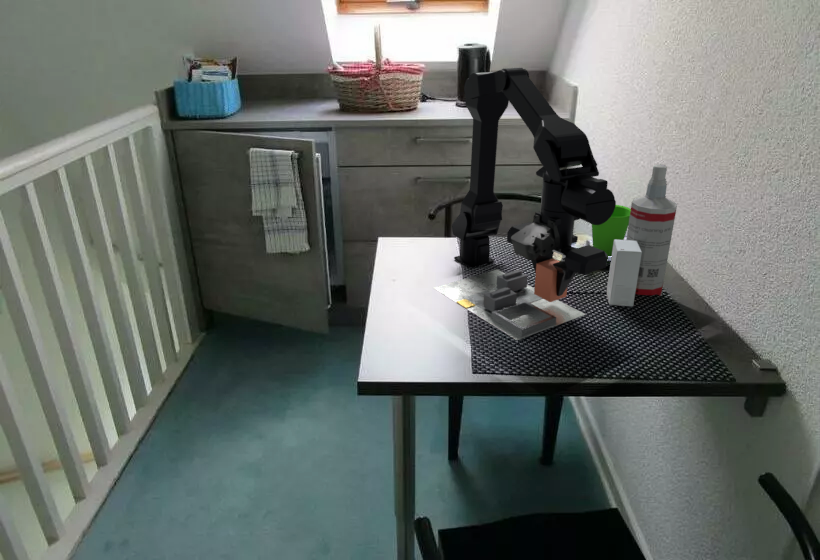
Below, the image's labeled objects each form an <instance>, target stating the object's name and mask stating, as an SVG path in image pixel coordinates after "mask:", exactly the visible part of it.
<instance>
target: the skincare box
mask: <svg viewBox="0 0 820 560" xmlns="http://www.w3.org/2000/svg"><path fill="white" fill-rule="evenodd" d="M641 254H642V252H641V249H640V247H639V245H638V243H637V241H632V240H626V239H624V240H617V239H615V240H614V243H613V250H612V257H611V262H610V264H609V265H610V266H609V273H608V279H607V287H606V297H607V301H608V304H609V305H610V306H622V307H625V306H626V307H634V303H635V296H636V294H635V291H636V285H637V279H638V273H639V266H640V260H641Z"/></svg>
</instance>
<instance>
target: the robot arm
mask: <svg viewBox="0 0 820 560" xmlns="http://www.w3.org/2000/svg"><path fill="white" fill-rule="evenodd" d="M463 88H464V89H463V91H464V96H465V106H466V108H467V110H468V112H469V114H470V115H471V117H472V118H471V119H472V139H471V157H470V158H471V159H470V177H469V178H470V180H469V190H468V192H467V193H466V194H465V197H463V200H462V201H461V202H460V203H461V204H460V211H459V215H458V216H457V217H456V218H455V220H454V221H453V222H452V224H451V231H452V235H454V236H455V237H456V238H458V239H459V255H456V256H454V257H453V258H454V259H453V260H454V261H457V262H459V263H460V264H462V265H464V266H465V267H468V268H470V269H475V268H477V267H482V266H485V265H488V264H492V263H494V262H495V259H494V258H491V257H490V255H491V254H490V251H491V244H490V236H497V234H498V232H499V229H500V225H501V222H502V221H503V216H502V215H503V214H502V213H503V208H504V207H503V206H504V205H503V202H502V201H500V200H499V199H498V197H497V195H496V194H495V180H496V179H495V178H496V165H497V163H496V162H497V149H498V134H499V121H500V119H501V118H502V116H503V114H504V113H505V112H506V110H507V109H508V107H509V103H510V104H511V106H512V108H513V109H514V110H515V111H516V113H517V114H518V116H519V117H520V119H522V121H523V123H524V124H525V126H526V127H527V128H528V130H529V131H530V132H531V134H532V136H533V147H532V148H533V150H534V152H535V154H536V156H537V158H538V160H539V162H540V164H541V165H542V166H541V167H540V168H539V169H538V170H537V171H535V175H536V176H537V177H540V178H542V184H541V185H542V186H541V187H542V189H541V201H540V202H541V203H540V210H539V211H535V212H534V215H533V218H532V219H533V220H532V222H530V221H528V222H525V223H520V224H516V225H512V226H511V227H510V228H509V229H508V231H507V232H506V233H507V234H506V236H507V237H506V242H507V243H510V244H511V245H512V248H513V252H514V254H515V255H517V256H520V257H522V258H524V259H526V260H527V261H531V263H532V266H533V269H534V273H535V274H534V275H536V264H537V263H539V262H543V261H546V260H549V259H553V257H554V253H556V254H558V255H561V256H562V257H561V260H560V262H557V263H554V264H553V266H554V267H555V268H556V269H557V283H556V294H557V296H561V295H562V294H563V293H564V291H565V290H566V288H567V289H568V287H569V285H570V284H571V282H572V280H573V279H574V277H575V276H576V275H577V274H579V275H588V274H589V273H593V272H595V271H598V270H602V269H606V268H607V266H608V265H607V264H608V262H607V259H608V256H607V254H606V253H605V251H603V250H600V249H598V248H595V247H593V245H590V244H586V245H584V246H580V247H574V246H572V244H576V243H578V238H579V236H578V235H576V234H574V226H575V221H578V220H582V221H584V222H586V223H588V224H590V225H592V224H593V225H600V224H603V223H605V222H606V221H607V220H608V219H609V218H610V217H611V215H612V214H613V212H614V210H615V206H616V205H617V200H616V199H615V195H614V193H613V191H612V190H610V189H608V184H609V183H608V180H605V179H603V178H596V177H599V174H600V171H599V169H598V163H597V161H596V159H595V157H594V154H593V152H592V149H591V145H590V141H589V137H588V136H587V135H586V133H585V132H584V131H583V130H582V129H581V128H579V127H578V126H577V125H576V124H575V123H574V122H572V121H569V120H567V119H564V118H562V117H560V116H559V115H558V114H557V112H556V111H555V110H554V108H553V107H552V106H551V105H550V103H549V102H548V101H547V99H546V98H545V97H544V96H543V94H542V93H541V91H540V90H539V89H538V87H537V86H536V84H534V82H533V80H532V79H531V78H530V73H529V71H528V69H526V68H523V67H509V68H508V67H505V68H504V67H503V68H501V69H500V70H497V71H487V72H486V71H485V72H473V73H471V74H470V75H469V76H468V78H467V79H466V80H465V83H464V87H463ZM569 167H572V168H569ZM563 168H564V169H563Z"/></svg>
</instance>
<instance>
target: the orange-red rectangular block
mask: <svg viewBox="0 0 820 560" xmlns="http://www.w3.org/2000/svg"><path fill="white" fill-rule="evenodd" d="M560 261H561V260H560ZM560 261H559V260H557V259H555V258H552V259H549V260H546V261H543V262H539V263H537V264H536V274H535V277H534V288H535V289H534V294H535V295H537V296H539V297H541V298H543V299H545V300H547V301H549V302H552V301H555V300H561V299H563V298H566V297H567V292H568V287H567V288H566V290H565V291H564V293H563V294H562V295H561V296H557V294H556V283H557V269H556V268H555V267H554V266H553V264H554V263H557V262H560Z"/></svg>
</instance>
